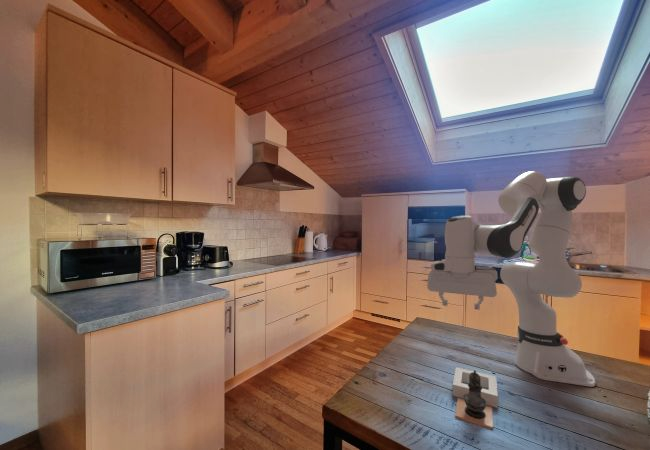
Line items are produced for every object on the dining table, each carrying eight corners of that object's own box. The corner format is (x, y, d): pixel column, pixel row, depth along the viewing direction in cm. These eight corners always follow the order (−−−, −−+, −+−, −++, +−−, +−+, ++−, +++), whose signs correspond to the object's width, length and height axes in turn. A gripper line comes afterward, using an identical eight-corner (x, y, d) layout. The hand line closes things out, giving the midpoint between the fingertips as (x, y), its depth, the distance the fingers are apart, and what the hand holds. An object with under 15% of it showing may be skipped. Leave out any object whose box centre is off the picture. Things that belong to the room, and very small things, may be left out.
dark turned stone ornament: (459, 411, 77) (459, 369, 77) (468, 402, 81) (468, 362, 81) (482, 423, 73) (482, 378, 73) (490, 413, 77) (490, 370, 77)
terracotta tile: (492, 409, 79) (492, 407, 79) (493, 429, 72) (493, 427, 72) (457, 399, 84) (457, 397, 84) (455, 417, 76) (455, 415, 76)
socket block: (496, 386, 90) (496, 376, 90) (497, 408, 80) (497, 396, 80) (456, 377, 96) (455, 367, 96) (452, 395, 86) (452, 384, 86)
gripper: (496, 265, 87) (497, 308, 87) (429, 262, 97) (429, 300, 97) (498, 268, 81) (498, 314, 82) (426, 264, 92) (426, 305, 92)
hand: (460, 307), depth 89 cm, fingers open, 8 cm apart
